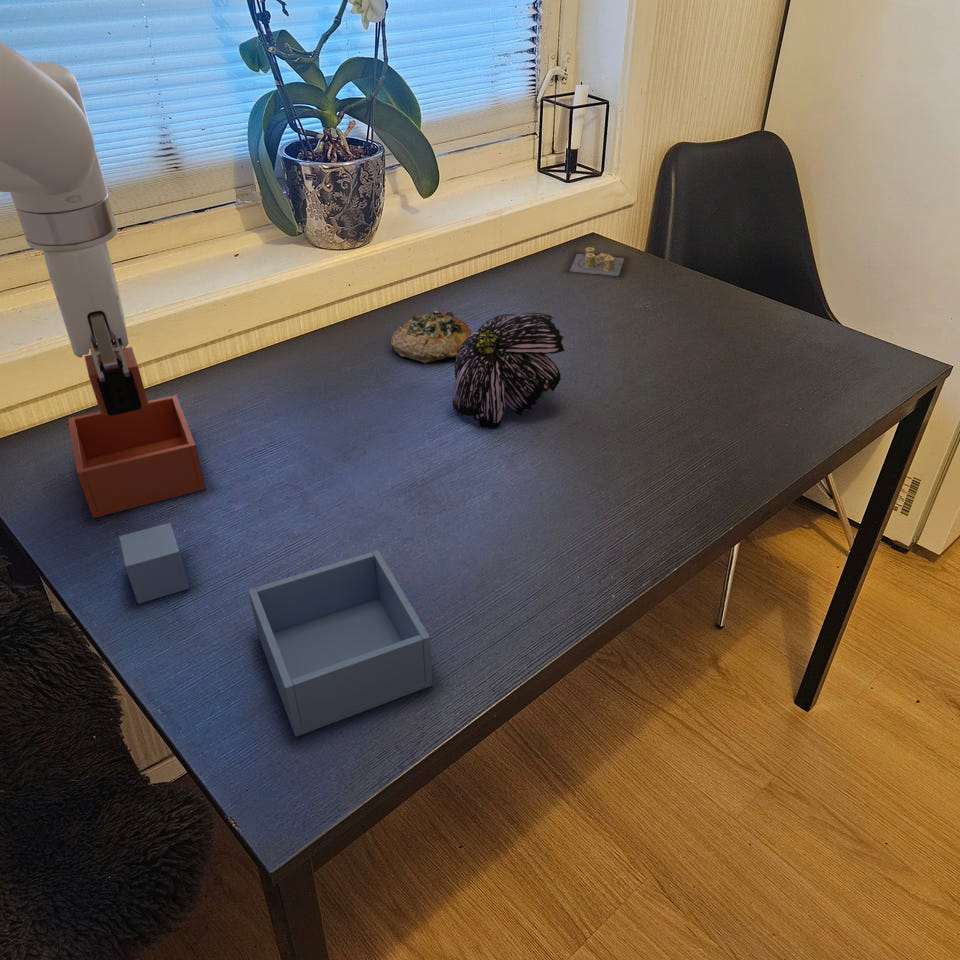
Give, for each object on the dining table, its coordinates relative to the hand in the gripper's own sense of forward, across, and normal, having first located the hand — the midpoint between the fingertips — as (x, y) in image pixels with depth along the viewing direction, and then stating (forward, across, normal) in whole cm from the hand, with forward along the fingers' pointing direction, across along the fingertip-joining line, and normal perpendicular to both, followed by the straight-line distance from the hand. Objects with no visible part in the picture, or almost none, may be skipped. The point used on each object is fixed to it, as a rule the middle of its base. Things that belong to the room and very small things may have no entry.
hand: (121, 397), depth 84 cm
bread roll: (+10, -14, +40) cm, 43 cm away
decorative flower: (+10, +3, +42) cm, 43 cm away
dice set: (+10, -29, +76) cm, 82 cm away
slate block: (+9, +18, -1) cm, 21 cm away
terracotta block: (0, 0, 0) cm, 0 cm away
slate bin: (+9, +35, +11) cm, 38 cm away
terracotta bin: (+10, 0, 0) cm, 10 cm away
